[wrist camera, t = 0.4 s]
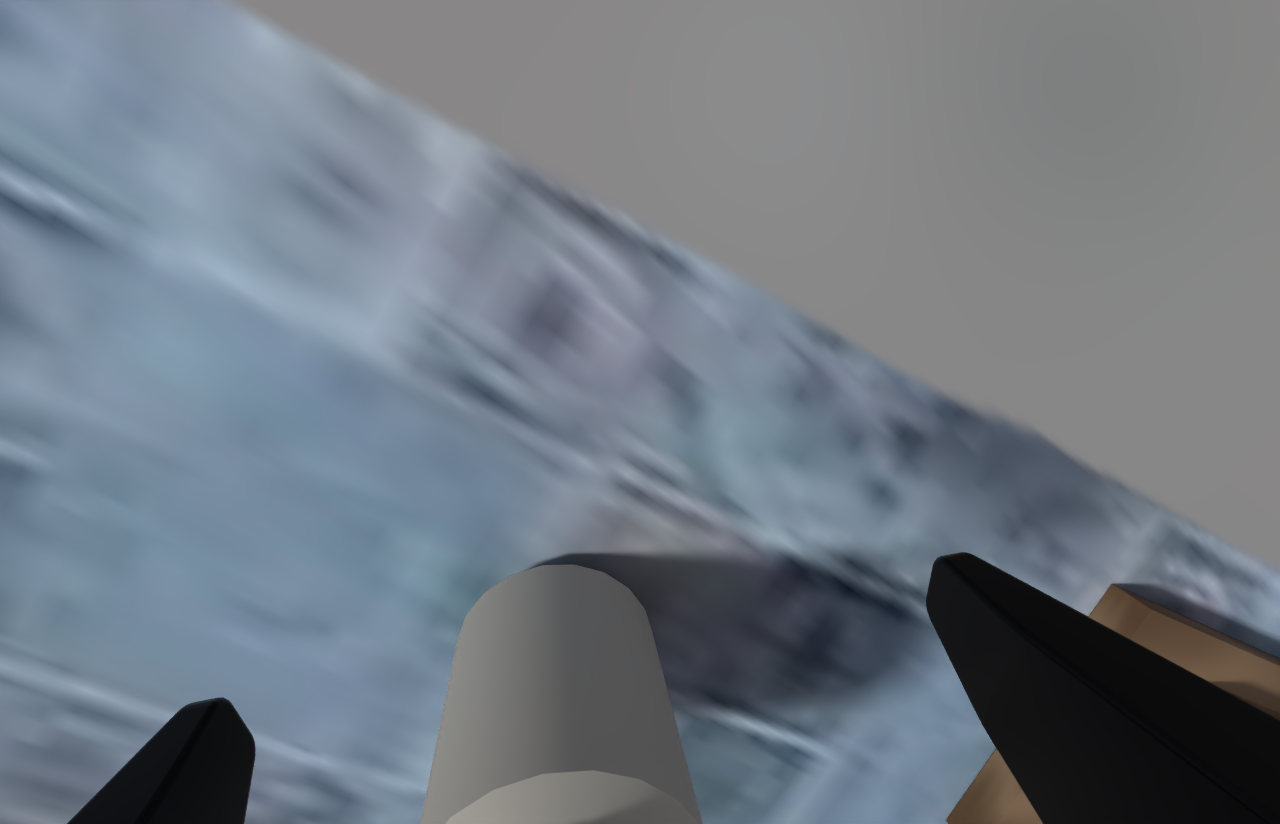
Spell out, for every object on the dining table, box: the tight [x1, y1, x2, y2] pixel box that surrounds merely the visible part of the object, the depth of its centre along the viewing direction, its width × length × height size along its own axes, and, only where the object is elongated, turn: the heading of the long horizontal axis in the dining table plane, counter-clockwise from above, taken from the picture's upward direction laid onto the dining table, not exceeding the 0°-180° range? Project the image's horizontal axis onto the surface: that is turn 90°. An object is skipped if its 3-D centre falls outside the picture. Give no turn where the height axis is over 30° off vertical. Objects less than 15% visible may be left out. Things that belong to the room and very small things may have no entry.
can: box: [420, 564, 703, 824], centre depth 20 cm, size 8×8×12 cm
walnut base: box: [946, 584, 1280, 824], centre depth 31 cm, size 14×20×4 cm
